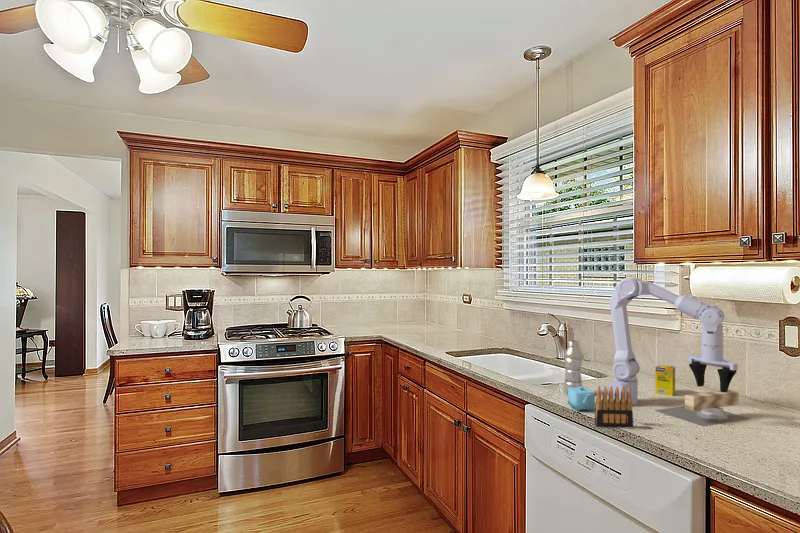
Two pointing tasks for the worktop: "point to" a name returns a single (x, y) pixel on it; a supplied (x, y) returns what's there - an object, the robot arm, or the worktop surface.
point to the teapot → (581, 398)
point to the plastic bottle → (572, 365)
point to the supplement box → (665, 380)
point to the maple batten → (711, 400)
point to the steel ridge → (713, 414)
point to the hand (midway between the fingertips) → (711, 388)
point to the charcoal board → (694, 418)
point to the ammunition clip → (613, 409)
